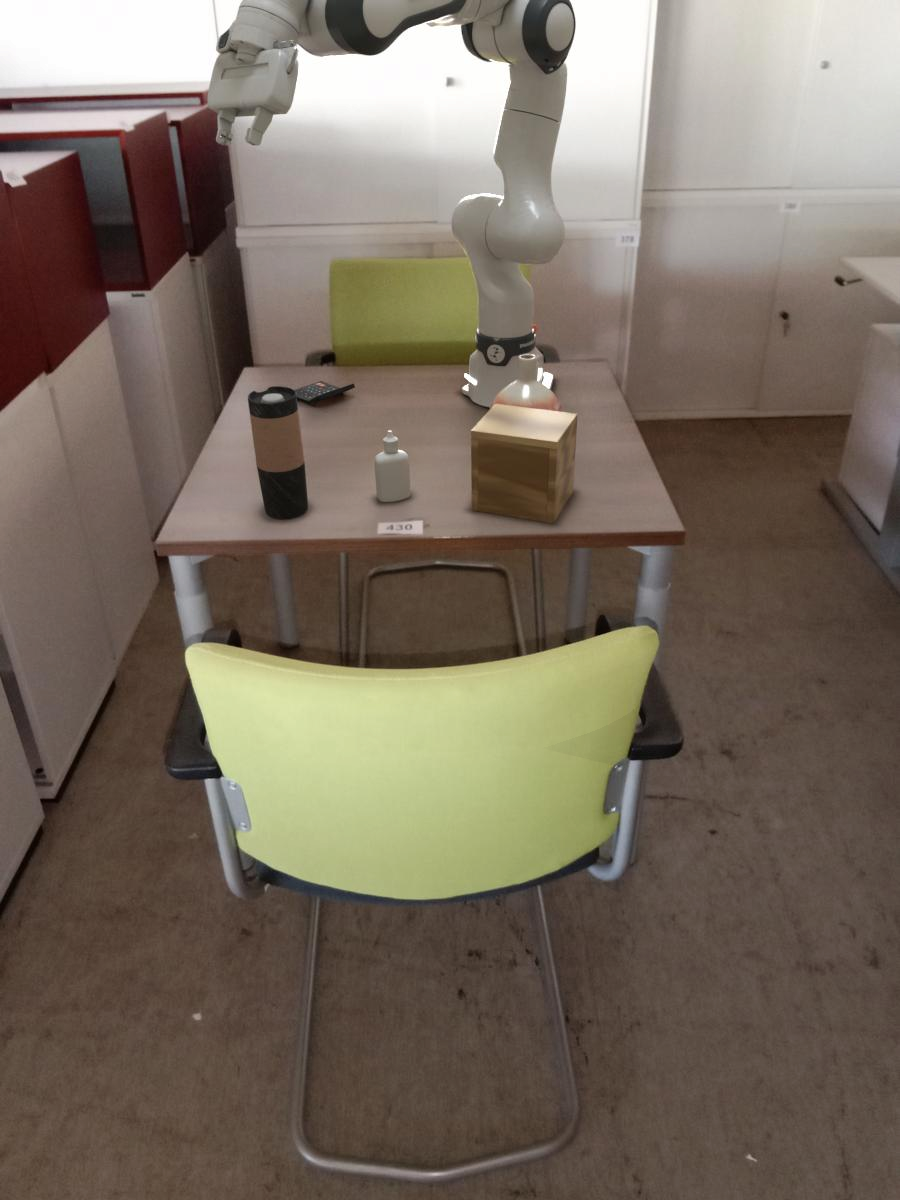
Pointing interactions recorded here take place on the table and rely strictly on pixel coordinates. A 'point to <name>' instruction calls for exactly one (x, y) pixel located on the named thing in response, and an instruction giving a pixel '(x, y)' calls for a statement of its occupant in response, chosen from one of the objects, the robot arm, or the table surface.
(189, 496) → the table surface
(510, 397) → the vase
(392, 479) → the eye dropper bottle
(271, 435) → the travel mug
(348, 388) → the calculator
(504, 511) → the plywood crate
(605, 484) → the table surface
